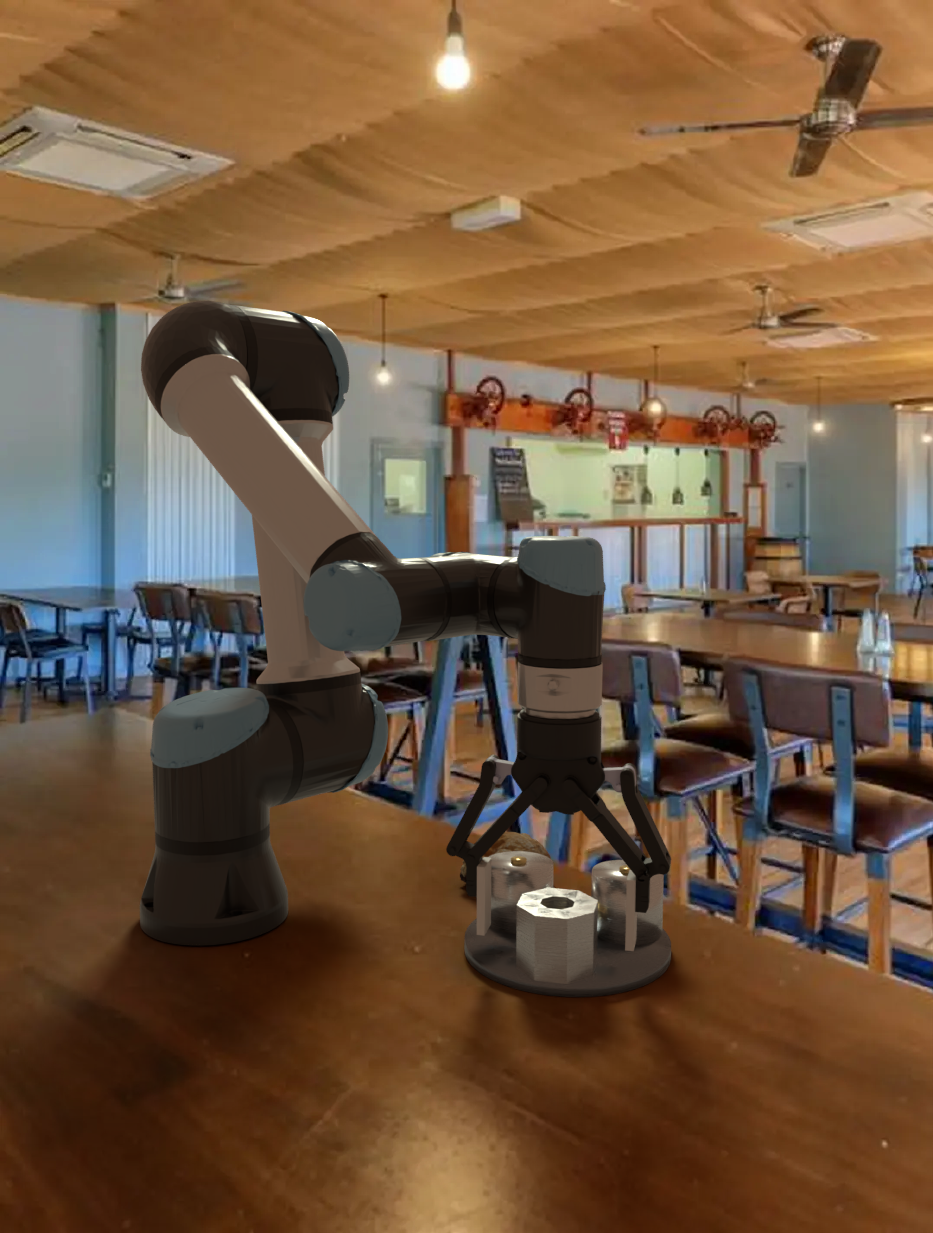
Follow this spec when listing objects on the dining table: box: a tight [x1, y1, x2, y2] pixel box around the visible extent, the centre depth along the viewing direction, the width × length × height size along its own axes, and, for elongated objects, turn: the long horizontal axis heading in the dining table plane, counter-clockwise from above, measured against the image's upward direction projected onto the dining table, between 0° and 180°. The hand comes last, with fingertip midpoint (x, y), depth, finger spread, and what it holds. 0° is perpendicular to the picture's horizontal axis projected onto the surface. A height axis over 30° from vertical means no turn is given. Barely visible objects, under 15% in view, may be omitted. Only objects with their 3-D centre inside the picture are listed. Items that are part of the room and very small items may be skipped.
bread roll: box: [459, 831, 552, 884], centre depth 122 cm, size 10×10×8 cm
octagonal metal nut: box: [516, 887, 598, 984], centre depth 99 cm, size 7×7×6 cm
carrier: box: [464, 851, 672, 998], centre depth 105 cm, size 20×20×8 cm
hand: (556, 937), depth 99 cm, fingers open, 13 cm apart
